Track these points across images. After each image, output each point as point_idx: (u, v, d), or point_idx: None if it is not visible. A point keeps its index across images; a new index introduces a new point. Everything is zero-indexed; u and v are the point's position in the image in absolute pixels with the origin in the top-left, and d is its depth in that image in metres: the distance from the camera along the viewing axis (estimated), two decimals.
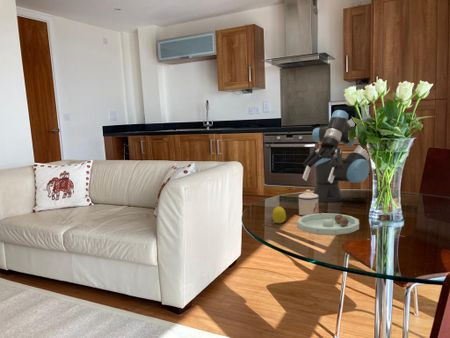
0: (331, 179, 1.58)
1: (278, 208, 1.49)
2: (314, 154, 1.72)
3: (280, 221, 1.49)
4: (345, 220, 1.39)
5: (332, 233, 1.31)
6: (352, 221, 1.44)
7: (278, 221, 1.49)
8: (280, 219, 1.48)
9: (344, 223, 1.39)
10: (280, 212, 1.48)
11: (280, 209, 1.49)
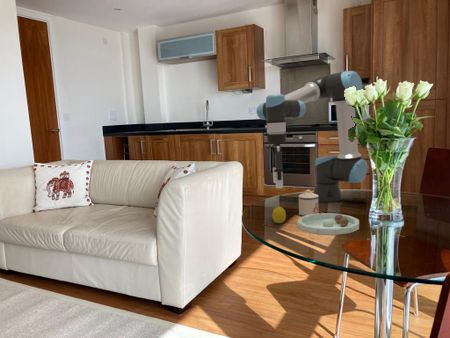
0: (279, 185, 1.42)
1: (278, 208, 1.49)
2: None
3: (280, 221, 1.49)
4: (345, 220, 1.39)
5: (332, 233, 1.31)
6: (352, 221, 1.44)
7: (278, 221, 1.49)
8: (280, 219, 1.48)
9: (344, 223, 1.39)
10: (280, 212, 1.48)
11: (280, 209, 1.49)
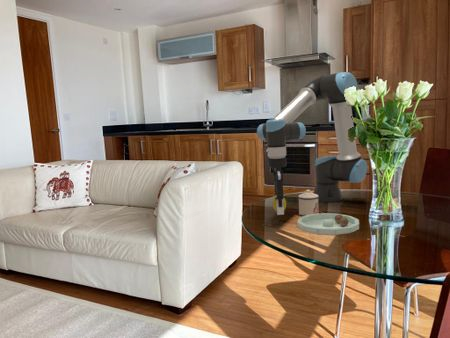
0: (280, 212, 1.47)
1: None
2: None
3: None
4: (345, 220, 1.39)
5: (332, 233, 1.31)
6: (352, 221, 1.44)
7: None
8: None
9: (344, 223, 1.39)
10: None
11: None
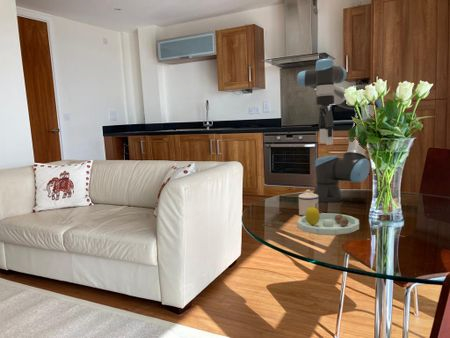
0: (329, 142, 1.55)
1: (312, 208, 1.41)
2: None
3: (314, 222, 1.41)
4: (345, 220, 1.39)
5: (332, 233, 1.31)
6: (352, 221, 1.44)
7: (312, 222, 1.41)
8: (314, 220, 1.40)
9: (344, 223, 1.39)
10: (314, 213, 1.40)
11: (314, 209, 1.41)
